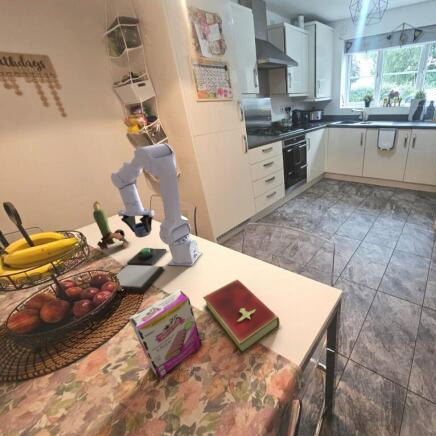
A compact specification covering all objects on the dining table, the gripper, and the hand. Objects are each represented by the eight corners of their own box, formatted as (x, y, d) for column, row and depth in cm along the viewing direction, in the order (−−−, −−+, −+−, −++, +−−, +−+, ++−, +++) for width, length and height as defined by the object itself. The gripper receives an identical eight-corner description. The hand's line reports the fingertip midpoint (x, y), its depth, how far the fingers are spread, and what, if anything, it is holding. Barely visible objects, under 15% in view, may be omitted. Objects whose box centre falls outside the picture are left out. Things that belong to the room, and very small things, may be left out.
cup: (154, 231, 105) (151, 222, 103) (145, 238, 100) (142, 228, 98) (141, 231, 106) (138, 221, 104) (132, 237, 101) (129, 228, 99)
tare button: (152, 250, 98) (150, 247, 97) (147, 255, 95) (146, 251, 95) (145, 250, 98) (143, 247, 98) (140, 254, 96) (139, 251, 95)
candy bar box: (159, 381, 54) (136, 330, 47) (150, 367, 57) (126, 317, 50) (203, 345, 62) (189, 296, 55) (193, 334, 65) (178, 287, 58)
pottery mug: (125, 252, 103) (107, 241, 98) (109, 261, 105) (90, 250, 100) (135, 232, 112) (119, 221, 107) (120, 241, 114) (104, 230, 109)
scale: (164, 270, 91) (162, 265, 90) (143, 293, 80) (141, 287, 79) (129, 269, 92) (127, 263, 91) (104, 291, 81) (101, 286, 80)
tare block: (166, 251, 102) (164, 245, 101) (152, 266, 93) (149, 260, 92) (144, 251, 103) (142, 245, 102) (128, 265, 94) (125, 259, 93)
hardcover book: (240, 287, 81) (238, 277, 79) (279, 326, 66) (278, 315, 64) (205, 306, 74) (202, 296, 72) (241, 354, 59) (239, 343, 57)
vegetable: (103, 243, 109) (84, 202, 101) (111, 238, 113) (95, 198, 104) (110, 245, 108) (92, 203, 99) (119, 240, 112) (102, 199, 103)
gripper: (155, 197, 99) (164, 226, 105) (122, 197, 101) (133, 226, 107) (143, 204, 93) (154, 235, 99) (109, 204, 95) (121, 234, 101)
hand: (142, 231), depth 102 cm, fingers closed on cup, 6 cm apart
